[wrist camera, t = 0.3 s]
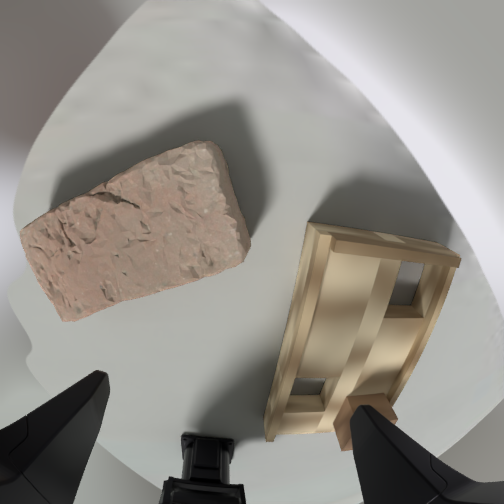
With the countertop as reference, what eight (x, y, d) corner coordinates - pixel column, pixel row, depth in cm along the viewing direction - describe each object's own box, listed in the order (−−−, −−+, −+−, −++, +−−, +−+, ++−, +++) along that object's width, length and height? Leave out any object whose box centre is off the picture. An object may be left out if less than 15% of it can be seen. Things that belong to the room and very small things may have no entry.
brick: (216, 136, 19) (209, 131, 15) (254, 242, 22) (258, 266, 17) (45, 218, 20) (13, 233, 16) (83, 301, 23) (60, 328, 19)
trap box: (366, 412, 29) (377, 438, 25) (263, 417, 28) (266, 449, 24) (437, 242, 22) (467, 259, 18) (307, 221, 21) (324, 238, 17)
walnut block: (368, 419, 26) (379, 444, 23) (332, 423, 26) (341, 451, 22) (383, 392, 25) (398, 419, 21) (346, 396, 24) (358, 425, 21)
